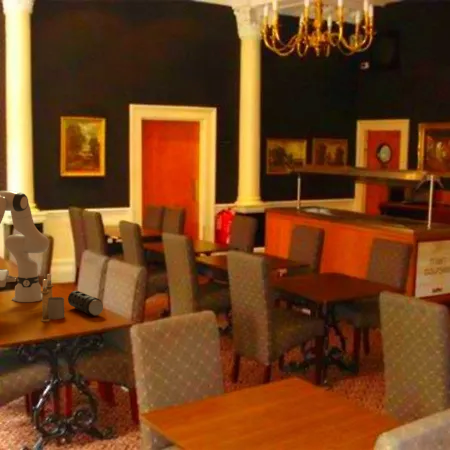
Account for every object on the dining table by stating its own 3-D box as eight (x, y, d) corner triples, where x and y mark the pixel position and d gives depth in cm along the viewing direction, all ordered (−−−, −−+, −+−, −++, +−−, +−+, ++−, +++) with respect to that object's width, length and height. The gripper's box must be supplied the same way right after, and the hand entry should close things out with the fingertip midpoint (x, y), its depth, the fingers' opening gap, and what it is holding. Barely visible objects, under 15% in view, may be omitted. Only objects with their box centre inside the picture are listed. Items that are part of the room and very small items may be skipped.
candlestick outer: (41, 320, 363) (41, 279, 361) (50, 319, 364) (49, 278, 361) (40, 322, 359) (39, 280, 357) (49, 321, 359) (48, 280, 357)
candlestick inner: (46, 313, 379) (45, 273, 377) (54, 312, 380) (53, 273, 377) (45, 314, 375) (44, 275, 373) (53, 314, 375) (52, 274, 373)
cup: (67, 316, 371) (67, 298, 370) (56, 319, 364) (55, 301, 363) (56, 314, 375) (55, 296, 374) (44, 317, 368) (44, 299, 367)
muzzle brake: (83, 307, 395) (83, 289, 393) (104, 317, 372) (104, 297, 371) (67, 309, 389) (67, 291, 388) (87, 319, 366) (87, 299, 365)
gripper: (-14, 276, 354) (15, 279, 357) (-9, 265, 374) (18, 268, 377) (-15, 288, 355) (13, 291, 359) (-10, 277, 375) (17, 279, 378)
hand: (16, 279), depth 368 cm, fingers closed
